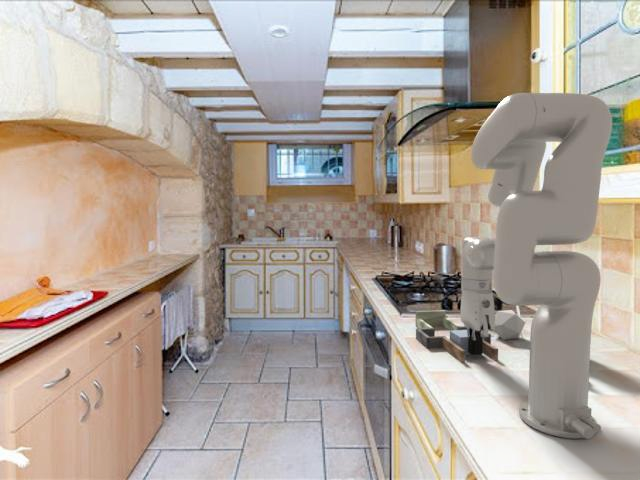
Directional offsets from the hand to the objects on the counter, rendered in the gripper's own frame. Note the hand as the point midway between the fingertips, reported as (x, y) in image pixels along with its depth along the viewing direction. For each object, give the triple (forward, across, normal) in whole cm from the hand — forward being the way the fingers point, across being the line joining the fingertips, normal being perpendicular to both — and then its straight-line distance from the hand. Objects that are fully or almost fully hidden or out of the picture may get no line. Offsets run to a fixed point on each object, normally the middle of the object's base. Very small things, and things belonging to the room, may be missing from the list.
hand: (475, 353), depth 109 cm
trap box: (+1, +14, 0) cm, 14 cm away
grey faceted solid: (+2, +15, -18) cm, 23 cm away
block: (+1, +6, 0) cm, 6 cm away
